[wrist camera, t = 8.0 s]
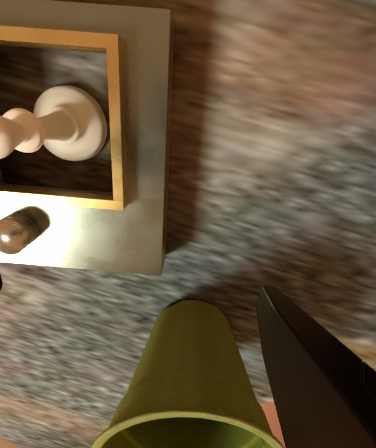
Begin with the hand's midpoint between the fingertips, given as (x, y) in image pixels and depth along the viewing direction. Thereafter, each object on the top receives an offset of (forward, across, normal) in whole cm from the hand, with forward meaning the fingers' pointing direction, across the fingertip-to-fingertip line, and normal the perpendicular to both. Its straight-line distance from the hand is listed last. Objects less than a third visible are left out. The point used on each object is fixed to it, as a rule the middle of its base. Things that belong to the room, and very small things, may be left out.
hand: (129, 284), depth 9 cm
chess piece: (+12, +7, -4) cm, 15 cm away
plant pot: (+12, -3, +14) cm, 19 cm away
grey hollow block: (+12, +7, -2) cm, 14 cm away
